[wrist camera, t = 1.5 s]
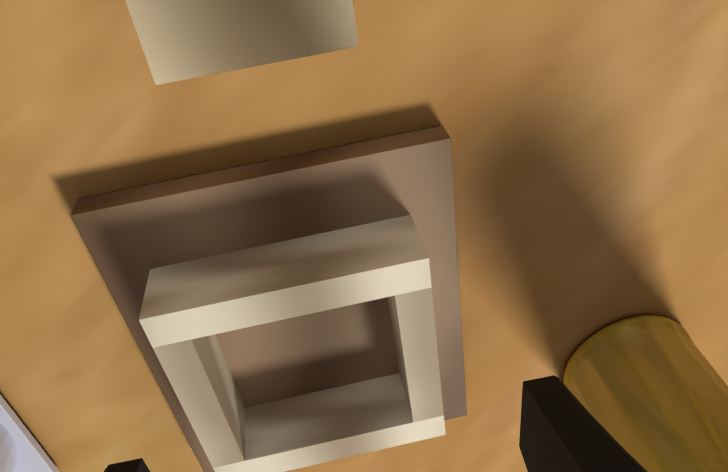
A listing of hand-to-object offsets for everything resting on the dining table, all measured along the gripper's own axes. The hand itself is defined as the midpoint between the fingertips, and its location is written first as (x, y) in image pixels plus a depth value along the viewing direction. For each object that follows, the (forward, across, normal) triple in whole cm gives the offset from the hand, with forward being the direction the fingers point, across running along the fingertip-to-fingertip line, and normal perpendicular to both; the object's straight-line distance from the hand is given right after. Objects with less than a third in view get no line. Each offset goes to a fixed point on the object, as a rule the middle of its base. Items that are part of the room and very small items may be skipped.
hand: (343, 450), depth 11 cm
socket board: (+10, +1, +6) cm, 12 cm away
